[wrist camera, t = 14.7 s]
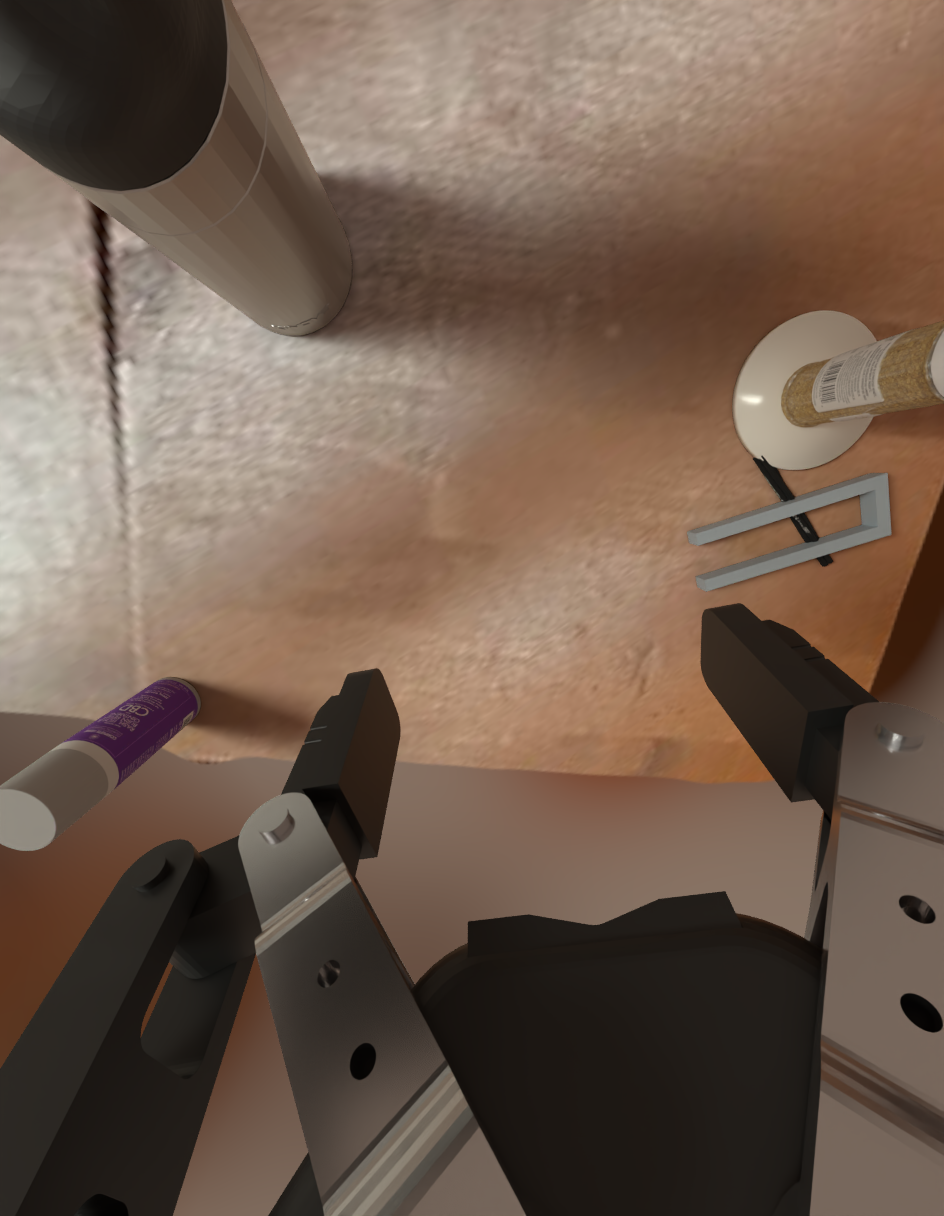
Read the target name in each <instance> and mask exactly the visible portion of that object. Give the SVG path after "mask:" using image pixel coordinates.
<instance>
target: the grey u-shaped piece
mask: <svg viewBox="0 0 944 1216" xmlns="http://www.w3.org/2000/svg"><path fill="white" fill-rule="evenodd" d="M857 495H860V506H861V518H862V525H860V526H856V527H853V528H850V529H847V530H844V531H840V532H837V533H834V534H831V535H827V536H824V537H821V538H819V541H817V542H809V543H806V542H805V543H802V544H799V545H795V546H792V547H789V548H786V549H782V550H779V551H776V552H773V553H770V554H766V555H763V556H760V557H757V558H753V559H750V560H747V561H744V562H741V563H737V564H734V565H731V566H728V567H724V568H721V569H718V570H715V571H712V572H708V573H705V574H702V575H699V576H696V581H697V587H698V588H700V589H702V590H704V591H710V590H713V589H716V588H720V587H723V586H726V585H729V584H733V583H736V582H739V581H742V580H746V579H749V578H752V577H755V576H759V575H762V574H765V573H769V572H772V571H775V570H778V569H782V568H785V567H788V566H791V565H795V564H798V563H801V562H804V561H808V560H811V559H814V558H817V557H821V556H824V555H827V554H830V553H834V552H837V551H840V550H843V549H847V548H850V547H853V546H856V545H860V544H863V543H866V542H869V541H873V540H876V539H879V538H882V537H886V536H889V535H891V519H890V503H889V487H888V473H870V474H866V475H863V476H860V477H857V478H854V479H851V480H848V481H844V482H841V483H838V484H835V485H832V486H829V487H826V488H822V489H819V490H816V491H813V492H810V493H807V494H804V495H801V496H797V497H794V498H795V499H794V500H789V501H787V502H779V503H775V504H772V505H769V506H766V507H763V508H760V509H757V510H753V511H750V512H747V513H744V514H741V515H738V516H735V517H731V518H728V519H725V520H722V521H719V522H716V523H713V524H710V525H706V526H703V527H700V528H697V529H694V530H691V531H688V532H687V534H688V539H689V543H691V544H694V545H697V546H699V545H702V544H705V543H708V542H711V541H715V540H718V539H721V538H724V537H727V536H730V535H734V534H737V533H740V532H743V531H746V530H749V529H753V528H756V527H759V526H762V525H765V524H768V523H772V522H775V521H778V520H781V519H784V518H787V517H791V516H794V515H797V514H800V513H803V512H806V511H810V510H813V509H816V508H819V507H822V506H825V505H829V504H832V503H835V502H838V501H841V500H844V499H848V498H851V497H854V496H857Z"/></svg>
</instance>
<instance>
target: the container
mask: <svg viewBox="0 0 944 1216" xmlns="http://www.w3.org/2000/svg"><path fill="white" fill-rule="evenodd" d="M200 707H201V701H200V697H199V695H198V693H197V691H196V690H195V689H194V687H193V686H192V685H190V684H189V683H188V682H186V681H184V680H182V679H179V678H174V677H167V678H162V679H160V680H158V681H156V682H154V683H153V684H151V685H150V686H148V687H147V688H145V689H144V690H142V691H141V692H139V693H138V694H136V695H135V696H133V697H131V698H130V699H128V700H127V701H125V702H124V703H122V704H121V705H119V706H118V707H116V708H115V709H113V710H112V711H110V712H109V713H107V714H106V715H104V716H102V717H101V718H99V719H98V720H96V721H95V722H93V723H92V724H90V725H89V726H87V727H86V728H84V729H83V730H81V731H80V732H78V733H76V734H75V735H73V736H72V737H70V738H69V739H67V740H66V741H64V742H63V743H61V744H60V745H58V746H57V747H55V748H54V749H53V750H51V751H50V752H48V753H47V754H45V755H44V756H43V757H41V758H40V759H38V760H37V761H36V762H34V763H32V764H31V765H30V766H28V767H27V768H26V769H24V770H22V771H21V772H19V773H18V774H17V775H15V776H14V777H12V778H11V779H9V780H8V781H7V782H5V783H4V784H2V785H1V786H0V843H1V844H2V845H4V846H7V847H9V848H12V849H16V850H23V851H32V850H38V849H41V848H43V847H45V846H47V845H48V844H50V843H51V842H52V841H53V840H54V839H56V838H57V837H58V836H59V835H60V834H61V833H63V832H64V831H65V830H66V829H67V828H68V827H70V826H71V825H72V824H73V823H75V822H76V821H77V820H78V819H79V818H81V817H82V816H83V815H84V814H85V813H86V812H88V811H89V810H90V809H91V808H92V807H94V806H95V805H96V804H97V803H98V802H99V801H101V800H102V799H103V798H104V797H106V796H107V795H108V794H109V793H110V792H112V791H113V790H114V789H115V788H116V787H117V786H118V785H120V784H121V783H122V782H123V781H124V780H125V779H126V778H128V777H129V776H130V775H131V774H132V773H133V772H134V771H135V770H137V769H138V768H139V767H140V766H141V765H142V764H143V763H144V762H146V761H147V760H148V759H149V758H150V757H151V756H152V755H153V754H155V753H156V752H157V751H158V750H159V749H160V748H161V747H162V746H164V745H165V744H166V743H167V742H168V741H169V740H170V739H171V738H173V737H174V736H175V735H176V734H177V733H178V732H179V731H181V730H182V729H183V728H184V727H185V726H186V725H187V724H188V723H190V722H191V721H192V720H193V719H194V718H195V717H196V716H197V715H198V713H199V711H200Z"/></svg>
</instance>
